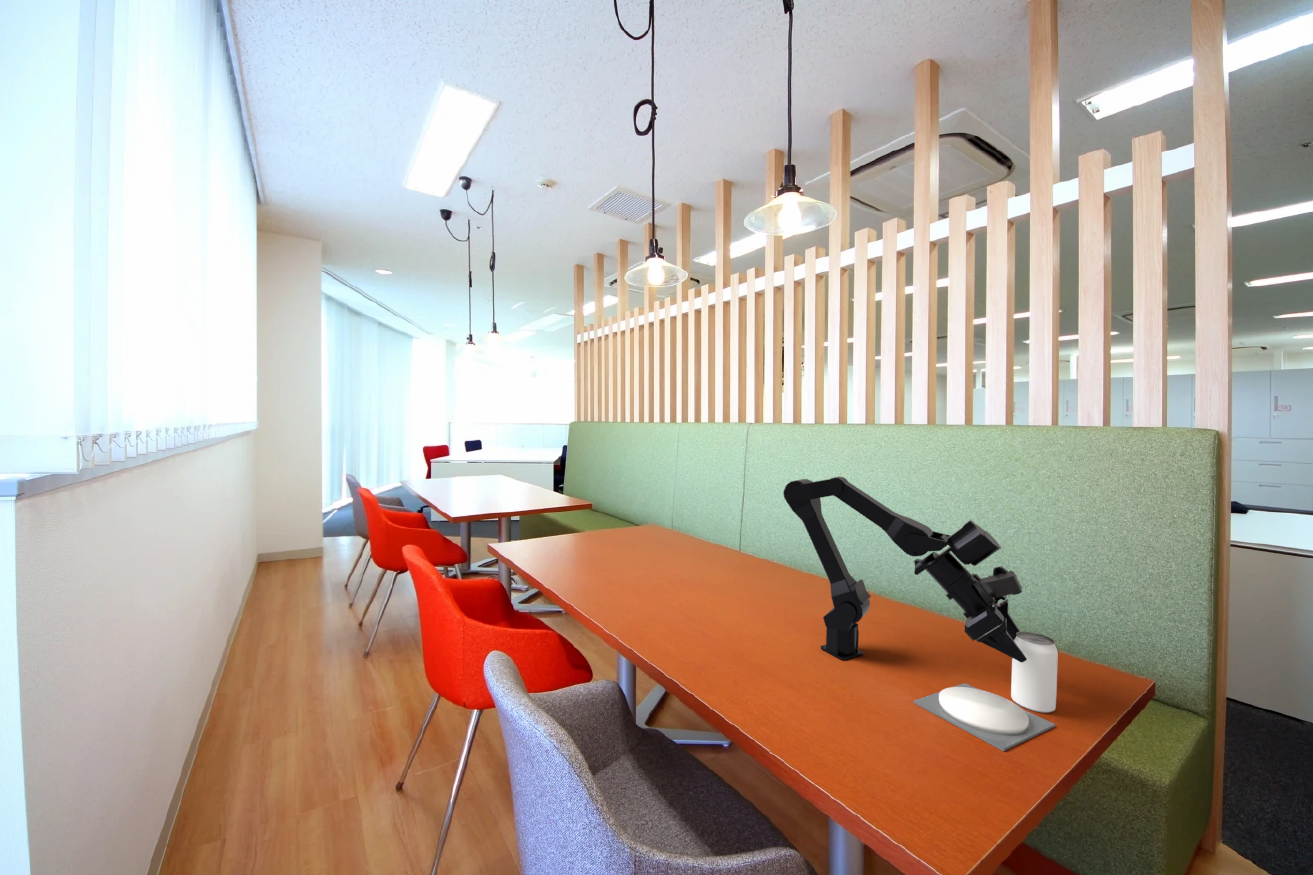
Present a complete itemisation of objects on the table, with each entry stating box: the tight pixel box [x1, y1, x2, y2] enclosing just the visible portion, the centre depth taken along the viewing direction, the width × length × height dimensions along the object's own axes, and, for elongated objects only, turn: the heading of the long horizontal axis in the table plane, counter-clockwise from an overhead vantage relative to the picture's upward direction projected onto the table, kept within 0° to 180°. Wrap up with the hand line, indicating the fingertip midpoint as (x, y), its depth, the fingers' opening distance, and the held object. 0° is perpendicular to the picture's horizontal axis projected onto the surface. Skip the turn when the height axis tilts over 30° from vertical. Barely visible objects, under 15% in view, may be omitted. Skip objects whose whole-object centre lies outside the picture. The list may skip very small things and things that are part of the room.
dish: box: [913, 682, 1056, 752], centre depth 87 cm, size 15×15×1 cm
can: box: [1010, 630, 1059, 714], centre depth 91 cm, size 6×6×12 cm
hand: (1024, 651), depth 92 cm, fingers open, 9 cm apart
